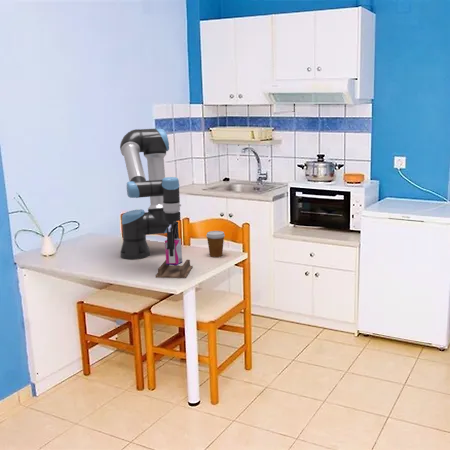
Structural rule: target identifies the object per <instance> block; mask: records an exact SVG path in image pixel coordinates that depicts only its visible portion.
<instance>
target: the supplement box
mask: <svg viewBox="0 0 450 450" xmlns="http://www.w3.org/2000/svg"><path fill="white" fill-rule="evenodd" d="M164 249H165V251H164V253H165V260H166V265H176V266H180V265H181V264H183V253H182V249H183V248H182V238H179V239H176V238H174V249H175V263H169V249H167V239H166V240H164Z"/></svg>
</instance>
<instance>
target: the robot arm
mask: <svg viewBox="0 0 450 450" xmlns="http://www.w3.org/2000/svg"><path fill="white" fill-rule="evenodd" d="M119 145H120V146H119V149H120V153H121V155H122V156H123V157H124V161H125V162H124V163H125V165H126V166H125V168H126V171H127V176H128V180H129V181H128V182H126V195H127V197H128V198H130V199H131V198H133V199H134V198H135V199H138V198H139V199H141V198H149V199H150V200H149V201H150V203H149V204H150V205H149V207H148V208H147V211H145V210H144V209H134V210H133V209H132V210H129V211H125V212H124V213H123V214H122V216H121V225H122V229H121V230H122V240H123V241H122V245H121V249H120V257H121V258H122V259H127V260H139V259H140V260H141V259H144V258H148V257H149V256H150V255H151V250H150V246H149V244H148V242H147V235H160V234H162V235H163V234H164V235H165V234H166V240H167V249H169V263H175V249H174V238H176V239H180V235H179V234H180V233H179V221H181V212H180V211H181V207H182V204H180V203H181V202H180V201H181V200H180V198H181V197H180V179H179V178H178V177H175V176H168V177H166V174H165V173H166V172H165V171H166V170H165V159H164V158H165V156H167V152H169V150H170V142H169V137H168V134H167V132H166V130H165V129H163V128H156V127H155V128H142V129H141V128H138V129H132V130H130V131H128V132H127V133H125V135H124V136H123V138H122V139H121V141H120V144H119ZM140 153H143V157H145V159H146V160H147V178H148V180H147V179H146V175H145V171H144V167H143V163H142V160H141V156H140Z"/></svg>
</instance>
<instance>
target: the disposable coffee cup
mask: <svg viewBox="0 0 450 450" xmlns="http://www.w3.org/2000/svg"><path fill="white" fill-rule="evenodd" d="M225 236H226V235H225V232H224V231H222V230H210V231H208V232H207V233H206V235H205V237H206V239H207V245H208V251H209V256H210V257H211V258H219V257H220V258H221V257H222V256H223V252H224V251H223V250H224V242H225Z"/></svg>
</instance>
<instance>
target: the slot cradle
mask: <svg viewBox="0 0 450 450" xmlns="http://www.w3.org/2000/svg"><path fill="white" fill-rule="evenodd" d="M193 268H194V267H193V265H191V260H190V259H186V260H185V261H184V262H183V263H182V265H177V266H176V265H166V259H165V260H164V261H163V262H162V264H161V265H160V266H159V267H158V268H157V273H156V274H155V278H159V279H160V278H163V279H164V278H167V279H187V277H188V275H190V272H191V271H192V270H191V269H193Z"/></svg>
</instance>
